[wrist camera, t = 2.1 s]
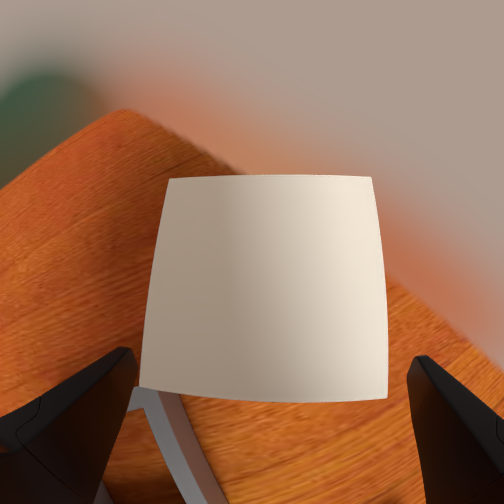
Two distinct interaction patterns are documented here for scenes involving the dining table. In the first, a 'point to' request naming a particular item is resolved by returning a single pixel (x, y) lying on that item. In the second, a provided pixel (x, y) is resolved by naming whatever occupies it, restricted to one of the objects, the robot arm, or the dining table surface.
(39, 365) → the dining table surface
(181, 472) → the grey square frame
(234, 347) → the white rectangular block
